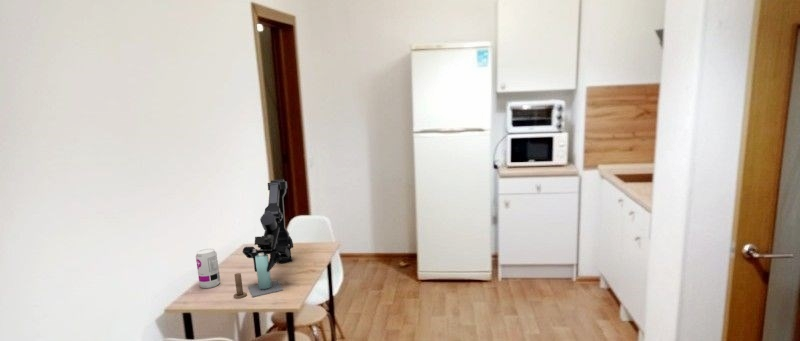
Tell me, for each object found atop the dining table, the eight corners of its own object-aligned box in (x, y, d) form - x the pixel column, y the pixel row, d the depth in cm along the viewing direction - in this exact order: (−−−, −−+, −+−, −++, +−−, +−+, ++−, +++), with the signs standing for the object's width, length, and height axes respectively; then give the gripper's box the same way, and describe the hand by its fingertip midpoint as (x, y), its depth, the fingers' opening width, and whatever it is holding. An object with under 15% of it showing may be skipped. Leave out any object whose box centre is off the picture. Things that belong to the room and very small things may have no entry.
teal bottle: (268, 283, 190) (265, 250, 188) (273, 286, 186) (269, 253, 184) (257, 286, 187) (253, 253, 185) (261, 290, 183) (257, 256, 181)
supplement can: (200, 290, 190) (195, 255, 188) (199, 284, 198) (194, 250, 195) (221, 285, 194) (217, 251, 192) (219, 279, 201) (214, 247, 199)
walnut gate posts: (263, 278, 199) (261, 258, 198) (273, 278, 198) (270, 258, 197) (230, 298, 180) (228, 276, 179) (241, 299, 178) (238, 277, 177)
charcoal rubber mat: (277, 280, 195) (277, 280, 195) (283, 290, 184) (283, 289, 184) (248, 287, 190) (248, 286, 190) (252, 297, 179) (252, 296, 179)
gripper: (241, 228, 189) (231, 263, 180) (284, 226, 186) (275, 262, 176) (253, 240, 198) (243, 274, 189) (293, 239, 194) (286, 274, 185)
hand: (261, 271), depth 184 cm, fingers closed on teal bottle, 5 cm apart
